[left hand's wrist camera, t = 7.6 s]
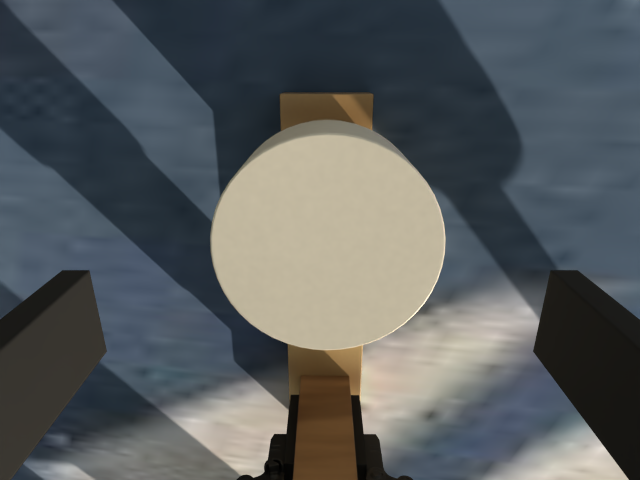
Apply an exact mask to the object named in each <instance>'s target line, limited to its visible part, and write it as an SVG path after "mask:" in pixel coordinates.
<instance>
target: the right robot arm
mask: <svg viewBox="0 0 640 480" xmlns="http://www.w3.org/2000/svg"><path fill="white" fill-rule="evenodd" d="M351 404H352V416H353V429H354V441H355V453H356V466H357V478H358V480H413V479H412V478H411V477H408V476H400V477H399V478H398V479H397V478H393V477H391V476H389V475H388V474H387V473H386V472H385V471H384V468H383V462H382V455H381V448H380V442H379V439H378V437H377V436H376V434H363V424H362V415H361V405H360V396H359V395H351ZM298 405H299V395H291V396H290V405H289V415H288V425H287V434H274V436H273V437H272V439H271V443H270V450H269V457H268V460H267V461H266V463H265V466H264V470H265V472H264V473H263V474H262V475H260V476H258V477H255V478H253V477H251V476H250V475H242V476H240V477H239V478H238V479H237V480H293V470H294V457H295V444H296V431H297V418H298Z"/></svg>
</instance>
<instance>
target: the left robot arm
mask: <svg viewBox="0 0 640 480" xmlns="http://www.w3.org/2000/svg"><path fill="white" fill-rule="evenodd" d="M106 352H107V350H106V345H105V341H104V336H103V332H102V327H101V322H100V318H99V313H98V308H97V304H96V299H95V295H94V290H93V285H92V281H91V276H90V271H89V270H62V271H61V272H60V273H59V274H57V275H56V276H55V277H53V278H52V279H51V280H50V281H48V282H47V283H46V284H45V285H43V286H42V287H41V288H40V289H38V290H37V291H36V292H35V293H33V294H32V295H31V296H30V297H28V298H27V299H26V300H24V301H23V302H22V303H21V304H19V305H18V306H17V307H16V308H14V309H13V310H12V311H11V312H9V313H8V314H7V315H6V316H4V317H3V318H2V319H1V320H0V480H11V479H12V478H13V476H14V475H15V474H16V472H17V471H18V469H19V468H20V467H21V465H22V464H23V463H24V461H25V460H26V459H27V457H28V456H29V455H30V453H31V452H32V451H33V449H34V448H35V447H36V445H37V444H38V443H39V441H40V440H41V439H42V437H43V436H44V435H45V433H46V432H47V431H48V429H49V428H50V427H51V425H52V424H53V423H54V421H55V420H56V419H57V417H58V416H59V415H60V413H61V412H62V411H63V409H64V408H65V407H66V405H67V404H68V403H69V401H70V400H71V399H72V397H73V396H74V395H75V393H76V392H77V391H78V389H79V388H80V387H81V385H82V384H83V383H84V381H85V380H86V378H87V377H88V376H89V374H90V373H91V372H92V370H93V369H94V368H95V366H96V365H97V364H98V362H99V361H100V360H101V358H102V357H103V356H104V354H105V353H106ZM533 352H534V353H535V354H536V356H537V357H538V358H539V360H540V361H541V362H542V364H543V365H544V366H545V368H546V369H547V370H548V372H549V373H550V374H551V376H552V377H553V378H554V380H555V381H556V383H557V384H558V385H559V387H560V388H561V389H562V391H563V392H564V393H565V395H566V396H567V397H568V399H569V400H570V401H571V403H572V404H573V405H574V407H575V408H576V409H577V411H578V412H579V413H580V415H581V416H582V417H583V419H584V420H585V421H586V423H587V424H588V425H589V427H590V428H591V429H592V431H593V432H594V433H595V435H596V436H597V437H598V439H599V440H600V441H601V443H602V444H603V445H604V447H605V448H606V449H607V451H608V452H609V453H610V455H611V456H612V457H613V459H614V460H615V461H616V463H617V464H618V465H619V467H620V468H621V469H622V471H623V472H624V474H625V475H626V476H627V478H628V479H629V480H640V320H639V319H638V318H637V317H636V316H634V315H633V314H632V313H631V312H629V311H628V310H627V309H626V308H624V307H623V306H622V305H621V304H619V303H618V302H617V301H616V300H614V299H613V298H612V297H610V296H609V295H608V294H607V293H605V292H604V291H603V290H602V289H600V288H599V287H598V286H597V285H595V284H594V283H593V282H592V281H590V280H589V279H588V278H587V277H585V276H584V275H583V274H581V273H580V272H579V271H578V270H551V271H550V276H549V281H548V285H547V290H546V295H545V299H544V304H543V308H542V313H541V318H540V322H539V327H538V332H537V336H536V341H535V345H534V350H533Z"/></svg>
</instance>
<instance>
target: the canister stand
mask: <svg viewBox="0 0 640 480" xmlns="http://www.w3.org/2000/svg"><path fill="white" fill-rule="evenodd" d="M372 116H373V94H372V93H370V92H283V93H281V94H280V120H281V131H283V130H285V129H287V128H289V127H292V126H295V125H298V124H300V123H305V122H310V121H318V120H337V121H345V122H349V123H354V124H357V125H360V126H363V127H366V128H368V129H370V130H372ZM362 349H363V345H361V346H357V347H353V348H347V349H340V350H316V349H308V348H302V347H298V346H294V345H291V344H288V369H289V401H290V396H291V395H299V405H298V418H297V431H296V444H295V457H294V470H293V480H358V478H357V466H356V453H355V441H354V429H353V416H352V404H351V395H359V396H361V373H362Z"/></svg>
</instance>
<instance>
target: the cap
mask: <svg viewBox="0 0 640 480" xmlns="http://www.w3.org/2000/svg"><path fill="white" fill-rule="evenodd" d="M210 247H211V256H212V262H213V267H214V270H215V273H216V276H217V279H218V281H219V283H220V285H221V288H222V290H223V292H224V293H225V295H226V296H227V298H228V299H229V301H230V303H231V304H232V305H233V306H234V307H235V309H236V310H237V311H238V312H239V313H240V314H241V315H242V316H243V317H244V318H245V319H246V320H247V321H248V322H249V323H251V324H252V325H253V326H255V327H256V328H257V329H259V330H260V331H262V332H264V333H265V334H267V335H269V336H271V337H273V338H275V339H277V340H280V341H282V342H284V343H287V344H291V345H294V346H298V347H302V348H308V349H316V350H340V349H347V348H353V347H357V346H361V345H364V344H368V343H370V342H373V341H375V340H378V339H380V338H382V337H384V336H386V335H388V334H390V333H392V332H393V331H395V330H396V329H398V328H399V327H400V326H402V325H403V324H405V323H406V322H407V321H408V320H409V319H410V318H411V317H412V316H413V315H415V313H416V312H417V311H418V310H419V309H420V308H421V307H422V305H423V304H424V303H425V301H426V300H427V298H428V297H429V295H430V294H431V292H432V290H433V288H434V286H435V284H436V282H437V280H438V277H439V274H440V271H441V268H442V264H443V259H444V254H445V229H444V222H443V218H442V214H441V210H440V207H439V205H438V202H437V200H436V197H435V195H434V193H433V192H432V190H431V188H430V187H429V185H428V183H427V182H426V180H425V179H424V178H423V177H422V176H421V174H420V173H419V172H418V171H417V169H416V168H415V167H414V166H413V165H412V164H411V163H410V162H409V161H408V159H407V158H406V157H405V156H404V155H403V154H402V153H401V152H400V151H399V150H398V149H397V148H396V147H395V146H394V145H393V144H392V143H391V142H390V141H388V140H387V139H385V138H384V137H383V136H381V135H380V134H378V133H376V132H374V131H372V130H370V129H368V128H366V127H363V126H360V125H357V124H354V123H349V122H345V121H337V120H318V121H310V122H305V123H300V124H298V125H295V126H292V127H289V128H287V129H285V130H283V131H281V132H279V133H277V134H275V135H274V136H272V137H271V138H269V139H268V140H266V141H265V142H264V143H263V144H262V145H261V146H259V147H258V148H257V149H256V150H255V151H254V152H253V154H252V155H251V156H250V157H249V158H248V160H247V161H246V162H245V163H244V164H243V166H242V167H241V168H240V169H239V170H238V172H237V173H236V174H235V175H234V177H233V178H232V179H231V180H230V181H229V183H228V185H227V186H226V188H225V190H224V191H223V193H222V195H221V197H220V199H219V202H218V204H217V206H216V209H215V213H214V216H213V220H212V226H211V234H210Z"/></svg>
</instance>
